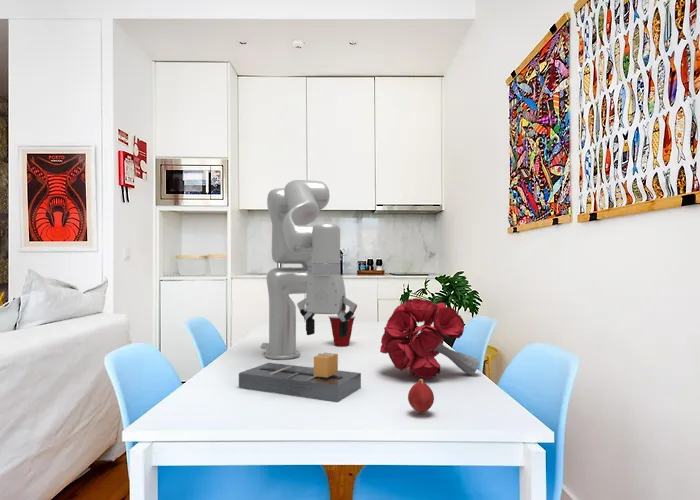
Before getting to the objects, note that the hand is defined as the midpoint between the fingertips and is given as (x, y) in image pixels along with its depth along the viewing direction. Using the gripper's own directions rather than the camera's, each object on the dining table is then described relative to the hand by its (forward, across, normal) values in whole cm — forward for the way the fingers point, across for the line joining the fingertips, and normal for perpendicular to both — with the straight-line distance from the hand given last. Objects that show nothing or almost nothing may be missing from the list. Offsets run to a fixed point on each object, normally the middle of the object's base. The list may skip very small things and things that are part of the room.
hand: (326, 335), depth 126 cm
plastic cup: (+14, -26, +62) cm, 68 cm away
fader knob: (+10, -1, 0) cm, 10 cm away
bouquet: (+15, +20, +29) cm, 38 cm away
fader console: (+15, -9, 0) cm, 17 cm away
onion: (+16, +27, -6) cm, 32 cm away
